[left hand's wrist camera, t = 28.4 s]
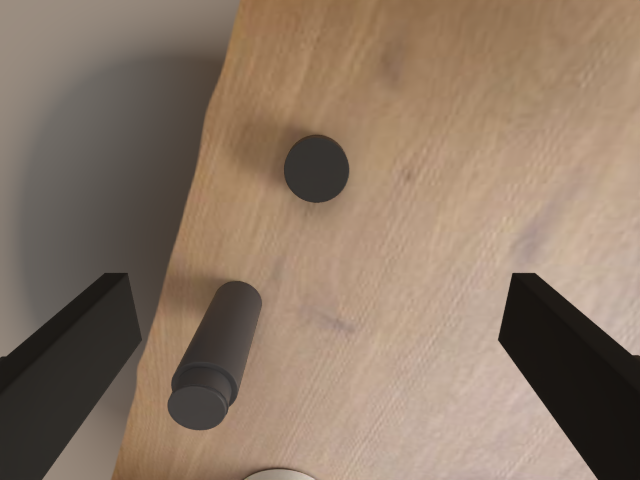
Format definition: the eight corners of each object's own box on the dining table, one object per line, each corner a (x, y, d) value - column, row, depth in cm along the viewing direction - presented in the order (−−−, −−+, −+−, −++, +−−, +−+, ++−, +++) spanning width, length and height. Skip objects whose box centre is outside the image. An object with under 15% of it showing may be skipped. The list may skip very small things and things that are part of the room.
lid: (279, 141, 36) (277, 145, 34) (341, 129, 36) (343, 131, 34) (293, 201, 38) (292, 207, 36) (352, 190, 38) (354, 196, 36)
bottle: (267, 316, 44) (241, 428, 29) (224, 326, 44) (177, 440, 30) (253, 276, 42) (217, 375, 27) (207, 287, 42) (148, 389, 28)
